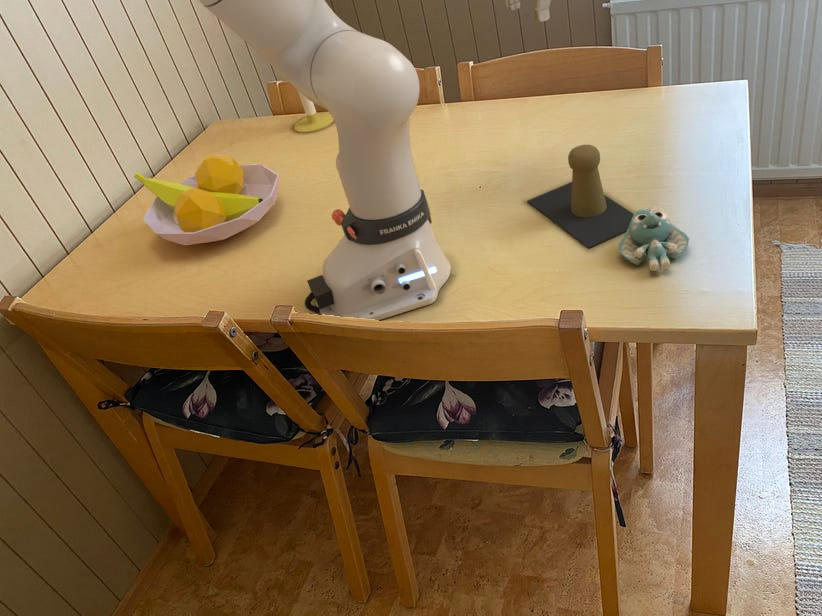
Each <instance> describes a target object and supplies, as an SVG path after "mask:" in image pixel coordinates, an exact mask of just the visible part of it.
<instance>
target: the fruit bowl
mask: <svg viewBox="0 0 822 616" xmlns="http://www.w3.org/2000/svg"><path fill="white" fill-rule="evenodd" d="M194 174H195V175H192V176H189V177H187V178H185V179H183V180H182V181H180V182H174V181H169V180H163V179H157V178H151V177H145V176H143V175H142V174H140V173H139V172H136V173H135V174H134V176H133V177H134V178H135V179H137V180H138V181H140V182H141V183H142V184H143V186H144V187H145V188H146V189H147V190H148V191H150V192H151V193H153V194H154V195H155V198H154V199H153V201H152V203H151V205H150V207H148V209H147V211H146V213H145V214H144V216H143V218H142V221H143V222H144V223H145V224H146V225H147V226H148V227H149V228H150V229H151V230H152V231H153V232H154V233H155V234H156V235H158V236H159V237H161V238H162V239H163V240H164V241H169V242H172V243H175V244H179V245H181V246H190V245H199V244H206V243H211V242H218V241H224V240H225V239H228V238H230V237H233V236H235V235H237V234H239V233H242V232H243V231H245V230H248V229H249V228H250V227H252V226H254V225H255V224H257V223H258V222H259V221H261V219H262V218H263V217H264V216H265V215H266V214H267V213H268V212H269V211H270V210H271V209H272V207H273V206H274V205H275V204H276V202H277V194H278V187H279V180H280V174H279V173H276V172H275V171H273V170H272V169H270V168H268V167H267V166H265V164H263V163H255V164H253V163H252V164H251V163H250V164H238V162H237V161H236V160H235V159H234V158H233V156H230V155H225V154H219V153H209V155H207V156H206V157H205V158H204V159H203V161H202V162H201V164H200V165H199V166H198V168H197V170H196V171H195V172H194Z"/></svg>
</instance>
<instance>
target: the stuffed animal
mask: <svg viewBox="0 0 822 616" xmlns="http://www.w3.org/2000/svg"><path fill="white" fill-rule="evenodd" d="M633 214H634V215H633V217H632V220H631V222H630V225H629V228H628V230H627V231H626V232H625V233H624V235H623V237H622V239H621V240H620V242H619V243H618V245H617V246H618V247H617V251H619V253H620V254H621V256H623V257H624V259H625V260H626V261H628V262H629V263H632V264H634V265H637V266H638V265H640V264H641V263H642V262H643V261H645V259H646V258H647V259H648V267H649V269H650V271H651V272H655V271H658V270H659V269H660V268H661V269H662V270H668V269H669V268H670V267H671V262H670V261H671V260H670V258H672V259H674V260H677V259H679V258H680V257H681V255H682V254H683V253H684V252H685V251H686V249H687V247H689V246H688V245H689V241H690V238H689V237H688V235H687V234H686V233H685V232H683V231H682V230H680V229H679V227H676V226H675V225H674V224H673V223H672V222H671V220H670V216H669V215H668V214H667V213H666V211H664V209H662V208H660V207H657V206H656V207H652V208H647V209H639V210H637V211H635V212H634V213H633Z"/></svg>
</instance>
